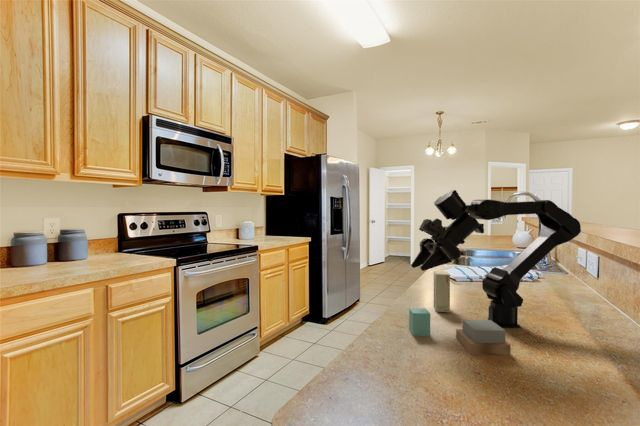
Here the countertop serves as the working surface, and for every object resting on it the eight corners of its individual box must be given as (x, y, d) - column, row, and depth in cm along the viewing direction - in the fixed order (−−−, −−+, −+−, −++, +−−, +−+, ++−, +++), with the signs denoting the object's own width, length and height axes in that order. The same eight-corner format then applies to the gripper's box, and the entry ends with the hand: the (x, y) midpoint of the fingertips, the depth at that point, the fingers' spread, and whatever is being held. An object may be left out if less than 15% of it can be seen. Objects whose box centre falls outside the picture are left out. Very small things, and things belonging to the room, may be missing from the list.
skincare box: (450, 313, 105) (450, 274, 105) (435, 312, 106) (436, 274, 105) (446, 307, 111) (447, 270, 111) (433, 306, 112) (433, 270, 112)
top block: (490, 331, 83) (490, 320, 83) (505, 343, 76) (505, 330, 76) (462, 331, 84) (462, 319, 84) (474, 343, 77) (474, 330, 77)
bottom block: (491, 341, 85) (492, 329, 85) (510, 357, 76) (510, 344, 76) (456, 340, 85) (456, 329, 85) (470, 356, 76) (470, 343, 76)
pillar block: (425, 329, 91) (425, 308, 91) (430, 336, 87) (430, 313, 87) (409, 329, 92) (409, 307, 91) (412, 335, 87) (413, 313, 87)
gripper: (427, 213, 104) (390, 245, 103) (450, 207, 85) (405, 247, 84) (452, 240, 103) (414, 273, 102) (480, 240, 84) (435, 280, 84)
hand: (416, 268), depth 93 cm, fingers open, 9 cm apart
